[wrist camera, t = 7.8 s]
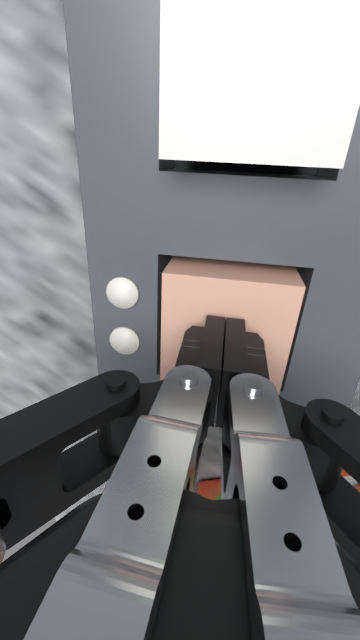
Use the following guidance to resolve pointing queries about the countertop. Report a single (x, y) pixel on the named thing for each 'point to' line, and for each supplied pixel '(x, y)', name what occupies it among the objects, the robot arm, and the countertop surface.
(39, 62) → the countertop surface
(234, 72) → the cream key
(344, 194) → the keypad
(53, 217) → the countertop surface
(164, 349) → the rose key
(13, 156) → the countertop surface
